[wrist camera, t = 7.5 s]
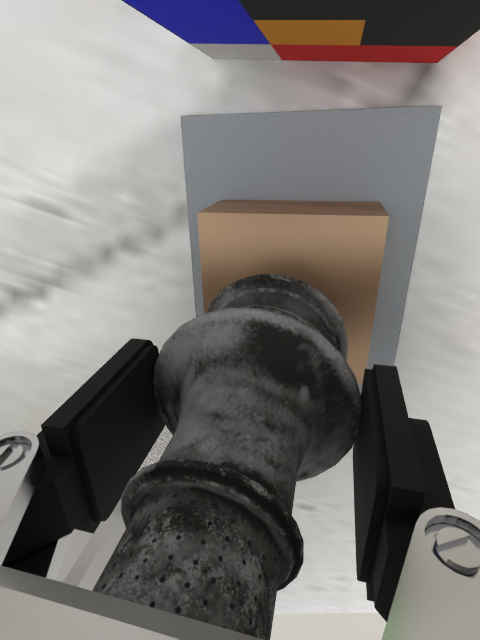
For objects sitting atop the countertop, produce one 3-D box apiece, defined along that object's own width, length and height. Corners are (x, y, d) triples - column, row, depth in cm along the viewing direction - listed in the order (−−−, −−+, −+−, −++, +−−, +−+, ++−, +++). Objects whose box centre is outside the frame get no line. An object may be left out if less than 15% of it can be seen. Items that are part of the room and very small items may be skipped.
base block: (360, 344, 22) (364, 384, 18) (227, 332, 23) (207, 366, 20) (379, 201, 18) (389, 216, 15) (222, 199, 20) (197, 212, 16)
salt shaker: (214, 410, 15) (-55, 987, 5) (176, 275, 13) (-469, 821, 3) (363, 409, 14) (435, 1299, 3) (350, 253, 11) (452, 1600, 1)
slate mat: (385, 398, 23) (386, 404, 23) (204, 376, 26) (201, 381, 26) (438, 106, 17) (442, 105, 16) (184, 116, 19) (180, 116, 19)
